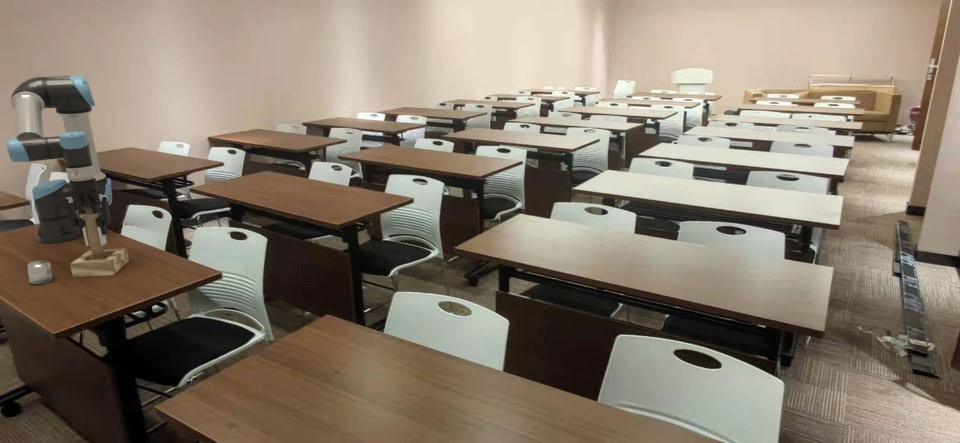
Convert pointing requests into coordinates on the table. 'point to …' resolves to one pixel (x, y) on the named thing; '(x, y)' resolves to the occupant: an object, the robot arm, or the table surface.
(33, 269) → the round plug
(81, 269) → the socket block
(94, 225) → the handle
